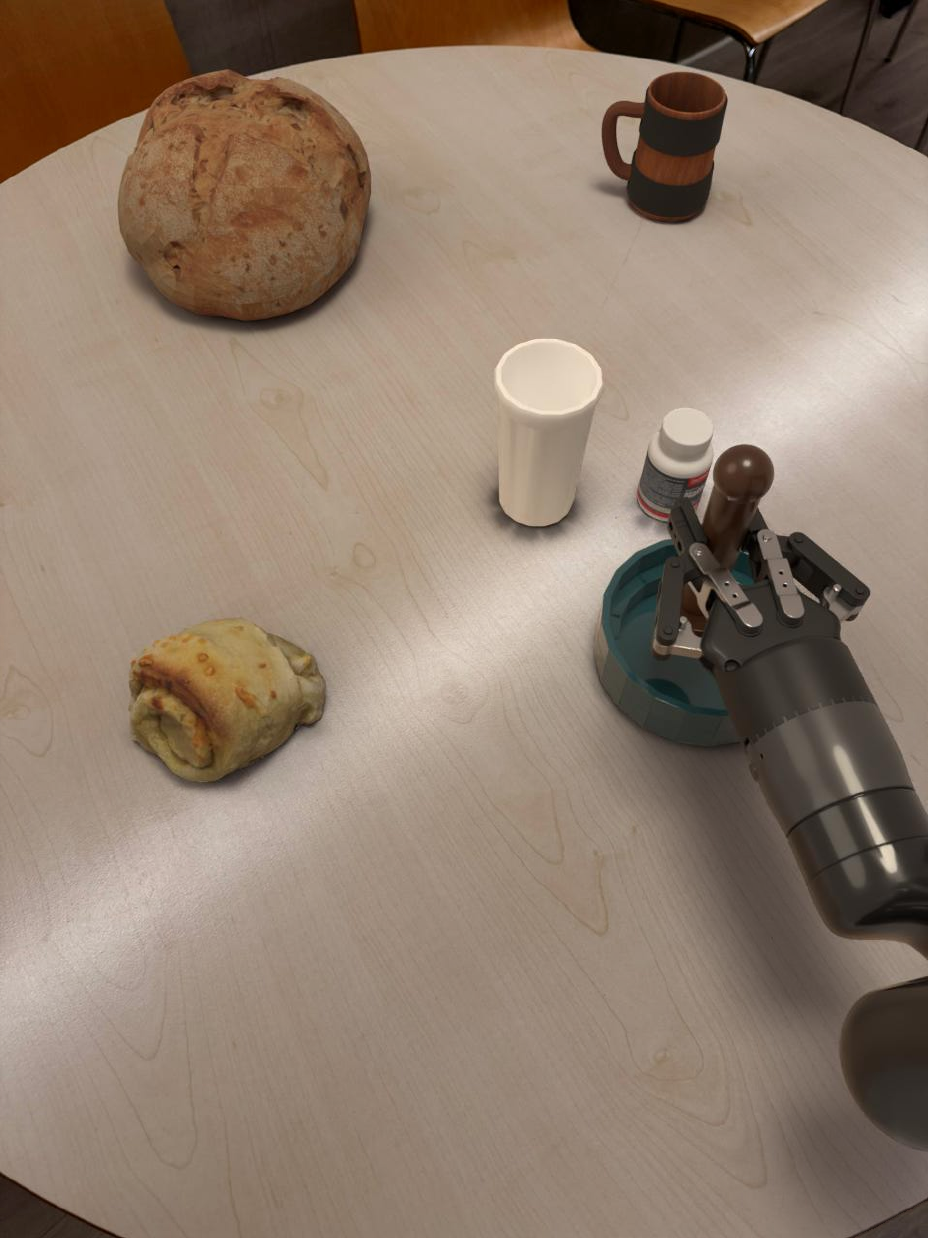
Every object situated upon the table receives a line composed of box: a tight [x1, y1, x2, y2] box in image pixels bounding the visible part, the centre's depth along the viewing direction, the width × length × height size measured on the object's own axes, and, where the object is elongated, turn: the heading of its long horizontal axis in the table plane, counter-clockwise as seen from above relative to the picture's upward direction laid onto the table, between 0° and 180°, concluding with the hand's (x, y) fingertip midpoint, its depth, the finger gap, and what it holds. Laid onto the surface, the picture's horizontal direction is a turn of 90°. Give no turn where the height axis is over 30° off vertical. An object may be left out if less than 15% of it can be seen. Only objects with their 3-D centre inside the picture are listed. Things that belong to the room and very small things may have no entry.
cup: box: [493, 338, 605, 527], centre depth 81 cm, size 8×8×14 cm
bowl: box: [593, 538, 802, 747], centre depth 76 cm, size 15×15×6 cm
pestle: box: [680, 443, 775, 638], centre depth 64 cm, size 5×5×17 cm
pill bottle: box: [636, 407, 715, 523], centre depth 83 cm, size 5×5×9 cm
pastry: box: [128, 617, 327, 783], centre depth 72 cm, size 14×12×8 cm
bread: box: [117, 68, 372, 322], centre depth 98 cm, size 26×23×15 cm
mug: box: [601, 71, 729, 223], centre depth 104 cm, size 9×12×12 cm
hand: (704, 501), depth 65 cm, fingers closed on pestle, 3 cm apart
